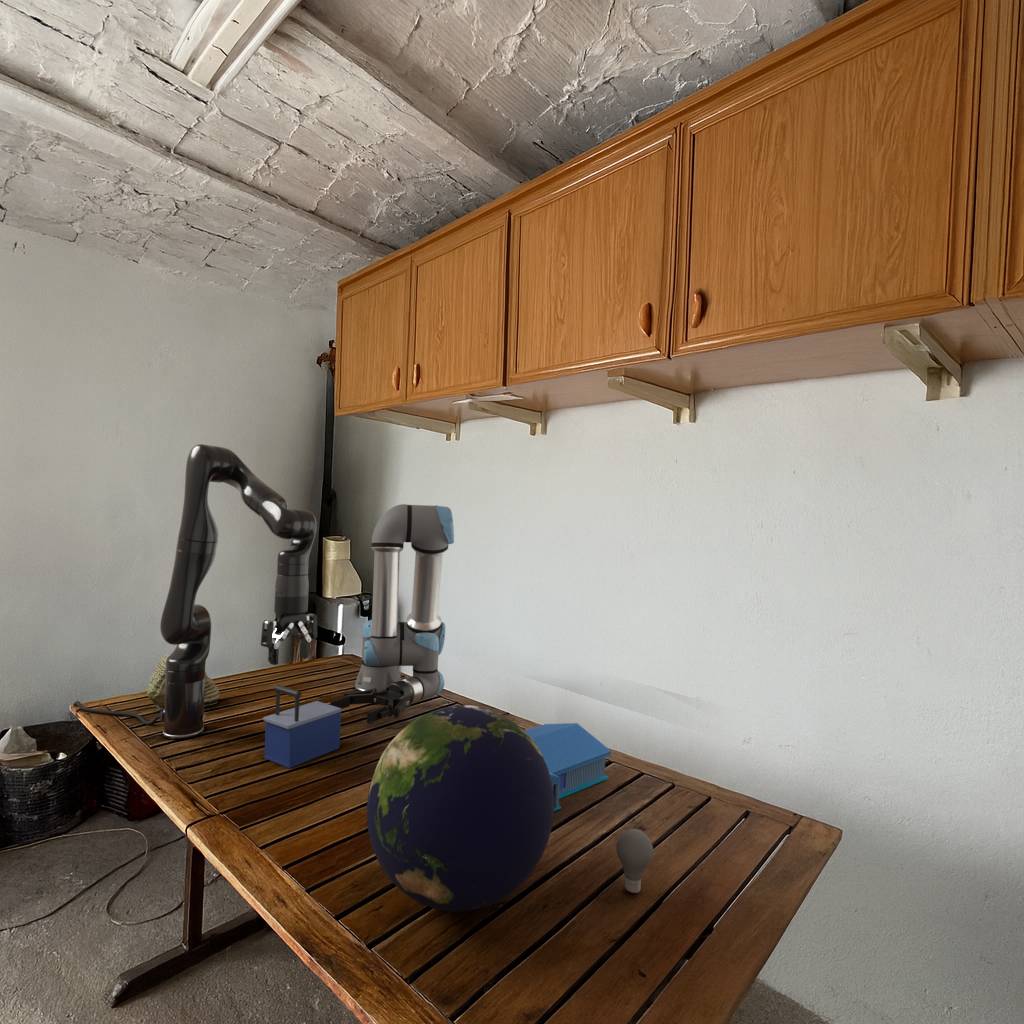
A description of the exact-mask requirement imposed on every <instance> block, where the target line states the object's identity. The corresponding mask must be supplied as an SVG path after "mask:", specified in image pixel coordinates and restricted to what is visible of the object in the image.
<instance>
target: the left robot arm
mask: <svg viewBox="0 0 1024 1024" xmlns="http://www.w3.org/2000/svg"><path fill="white" fill-rule="evenodd" d="M184 476H185V477H184V495H183V496H184V497H183V505H182V514H181V519H180V520H181V521H180V526H179V531H178V535H177V536H178V537H177V542H176V548H175V557H174V562H173V567H172V572H171V578H170V585H169V589H168V593H167V596H166V600H165V604H164V606H163V610H162V613H161V618H160V623H159V625H160V626H159V631H160V634H161V636H162V638H163V640H164V641H165V642H166V643H167V644H169V645H172V646H175V648H174V649H173V651H172V652H171V653H170V654H168V655H169V656H168V658H167V659H166V674H165V705H164V710H162V711H159V714H158V715H156V716H155V717H153V719H152V720H150V721H149V720H146V719H145V718H144V716H142V715H140V714H138V713H135V712H128V711H117V710H108V709H98V708H92V707H86V706H84V705H82V703H81V702H80V701H79V700H75V702H73V704H72V706H73V707H76V706H77V708H79V709H80V710H82V711H84V712H89V713H96V714H105V715H113V716H126V717H133V718H136V719H138V720H139V721H140V722H141V723H142V724H144V725H146V726H147V725H148V726H151V725H154V724H155V723H156V722H157V721H158V720H159V721H160V722H161V723H163V730H162V737H164V738H166V739H169V740H185V739H190V738H191V739H192V738H194V737H197V736H199V735H202V734H203V732H204V730H205V729H204V726H205V725H204V722H205V721H204V719H205V718H206V713H205V706H204V693H205V672H206V664H207V663H206V662H207V658H208V656H209V653H210V649H211V648H210V647H211V639H212V617H211V614H210V612H209V610H208V609H207V608H206V607H205V606H203V605H201V604H196V598H197V594H198V591H199V588H200V587H201V585H202V583H203V581H204V580H205V578H206V576H207V575H208V573H209V571H210V570H211V568H212V566H213V564H214V561H215V559H216V554H217V548H218V542H219V529H218V526H217V523H216V521H215V518H214V516H213V514H212V511H211V508H210V505H209V489H210V483H217V484H219V483H224V484H226V485H228V486H231V487H233V488H235V489H236V490H237V491H238V492H239V494H240V498H241V500H242V502H243V503H244V505H245V506H246V507H247V509H249V510H250V511H251V512H253V513H254V514H256V515H257V516H258V517H259V518H261V519H262V520H263V522H264V524H265V525H266V527H267V528H268V529H269V531H270V532H271V534H273V535H274V536H276V537H277V538H279V539H281V540H290V543H289V546H288V547H286V548H282V549H281V550H280V551H279V552H278V553H277V560H276V578H275V582H274V609H273V612H274V614H275V617H274V620H266V619H264V620H263V621H262V625H261V637H260V646H261V647H265V648H267V649H268V655H267V656H268V657H267V660H268V663H269V664H270V665H273V666H276V665H278V664H279V655H280V654H279V652H280V648H279V647H280V645H281V644H282V642H284V641H285V639H286V638H291V637H292V636H298V638H299V639H300V642H299V657H300V659H301V658H302V659H308V657H309V655H310V643H311V642H312V640H316V639H317V638H318V615H317V614H315V613H310V612H309V613H308V609H309V587H310V586H309V575H308V574H309V557H310V554H311V551H312V548H313V544H314V541H315V538H316V535H317V530H318V526H317V525H318V524H317V518H316V517H315V515H314V513H313V512H312V511H310V510H308V509H304V508H303V509H302V508H301V509H297V508H296V509H295V508H294V509H293V508H291V509H290V508H288V502H287V500H286V499H285V498H284V497H283V496H282V495H281V494H279V493H278V492H277V491H276V490H274V489H273V488H272V487H270V486H269V485H267V484H266V483H265V482H264V481H262V480H261V479H260V478H259V477H257V476H256V474H255V473H253V471H252V470H251V469H250V468H249V467H248V466H247V465H246V464H245V463H244V462H243V460H241V458H240V457H239V455H237V454H236V453H235V452H234V451H232V450H231V449H229V448H226V447H222V446H217V445H211V444H204V443H203V444H202V443H200V444H195V445H194V446H193V447H192V448H191V449H190V451H189V453H188V455H187V460H186V465H185V475H184ZM305 625H306V626H305Z"/></svg>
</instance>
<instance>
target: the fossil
mask: <svg viewBox="0 0 1024 1024" xmlns="http://www.w3.org/2000/svg"><path fill="white" fill-rule="evenodd" d="M169 655H170V654H165V655H164V656H163V657H162V658H161V659H160V660H159V662H158V663H157V666H156V667H155V669H154V670H153V672H152V675H151V677H150V680H149V684H148V688H147V697H148V699H149V700H150V701H152V703H153V704H154V706H155V711H158V712H160V711H164V705H165V674H166V659H167V658H168V656H169ZM220 698H221V696H220V690H219V688H218V686H217V685H216V683H215V682H214V681H213V679H212V678H211V677H209V675H208V674H207V672H206V671H205V693H204V707H207V706H213V705H215V704H217V703H218V701H219V699H220Z"/></svg>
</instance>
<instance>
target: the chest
mask: <svg viewBox="0 0 1024 1024" xmlns="http://www.w3.org/2000/svg"><path fill="white" fill-rule="evenodd" d="M341 721H342V711H341V712H338V713H335V714H332V715H329V716H326V717H323V718H320V719H317V720H314V721H311V722H308V723H305V724H302V725H299V726H296V727H294V728H291V729H286V728H283V727H280V726H278V725H275V724H272V723H269V722H266V721H265V733H264V759H265V760H268V761H270V762H272V763H275V764H277V765H280V766H282V767H285V768H288V769H291V768H294V767H296V766H299V765H301V764H304V763H306V762H309V761H311V760H314V759H316V758H319V757H322V756H324V755H326V754H329V753H331V752H334V751H336V750H339V749H340V748H341V746H340V745H341V726H342V725H341Z"/></svg>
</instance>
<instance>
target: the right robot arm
mask: <svg viewBox="0 0 1024 1024" xmlns="http://www.w3.org/2000/svg"><path fill="white" fill-rule="evenodd" d="M454 528H455V527H454V518H453V512H452V510H451V508H450V507H448V506H445V505H444V506H443V505H429V504H428V505H426V504H425V505H424V504H407V503H401V504H397V505H395V506H392V507H390V508H389V509H388V510H387V511H385V512H384V513H383V515H382V516H381V517H380V518H379V520H378V521H377V523H376V525H375V527H374V529H373V533H372V536H371V546H370V547H371V548H370V549H371V550H373V552H374V560H373V561H374V562H373V586H372V589H373V590H372V610H371V611H372V612H371V619H369V620H368V621H367V620H366V622H365V623H364V625H363V627H362V629H363V631H362V635H361V638H362V646H361V647H362V648H361V666H360V669H359V672H358V674H357V677H356V680H355V683H354V690H355V691H350V692H343V697H340V698H337V699H334V700H331V701H329V705H332V706H335V707H338V708H341V710H342V709H345V708H349V707H350V706H351V705H366V704H370V705H372V706H381V707H379V708H375V709H373V710H370V711H367V713H366V724H371V723H375V722H377V721H380V720H383V719H384V718H387V717H389V718H391V717H394V718H395V719H397V718H400V716H401V715H402V714H403V712H405V710H406V709H408V708H409V707H410V706H411V705H413V704H415V703H418V702H422V701H424V700H426V699H430V698H432V697H434V696H437V695H438V694H440V693H441V692H442V691H443V690H444V687H445V679H444V675H443V674H442V673H441V672H440V671H439V670H438V669H439V666H438V665H439V656H440V655H441V654H442V652H443V648H444V645H445V640H446V638H445V636H446V624H445V622H443V621H442V617H441V616H439V614H438V613H439V603H440V592H441V591H440V590H441V581H442V580H441V579H442V567H443V556H444V553H446V552H447V551H448V550H449V545H452V544H454V543H455V529H454ZM405 543H410V546H411V549H412V550H413V551H414V552H415V557H414V568H413V569H414V571H413V585H412V599H411V600H412V601H411V613H409V614H408V615H407V617H406V620H405V621H400V618H399V617H398V615H399V588H400V563H401V562H400V561H401V552H402V551H404V546H405V545H404V544H405ZM399 667H412V675H411V676H409V677H406V674H400V669H399ZM402 678H403V679H402Z"/></svg>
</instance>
